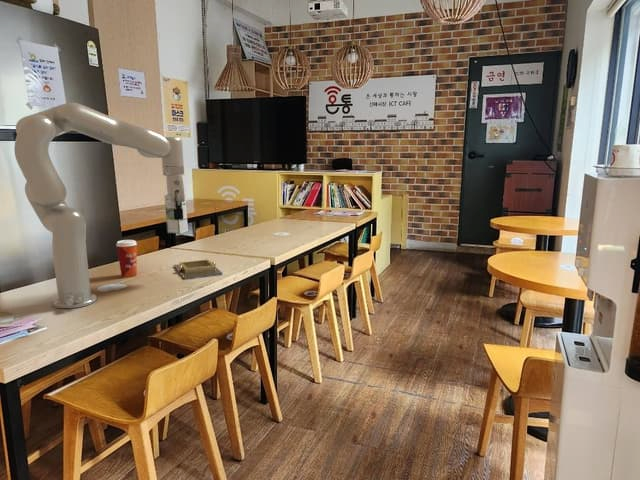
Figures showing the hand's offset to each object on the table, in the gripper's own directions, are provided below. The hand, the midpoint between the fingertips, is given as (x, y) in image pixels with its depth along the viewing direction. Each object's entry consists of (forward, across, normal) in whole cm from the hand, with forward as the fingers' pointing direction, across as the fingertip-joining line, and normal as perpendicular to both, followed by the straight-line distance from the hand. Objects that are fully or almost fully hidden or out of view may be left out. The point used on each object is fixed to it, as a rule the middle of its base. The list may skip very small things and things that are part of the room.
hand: (176, 217), depth 172 cm
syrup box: (+6, 0, 0) cm, 6 cm away
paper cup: (+24, +15, +18) cm, 34 cm away
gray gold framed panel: (+24, +11, -8) cm, 28 cm away
